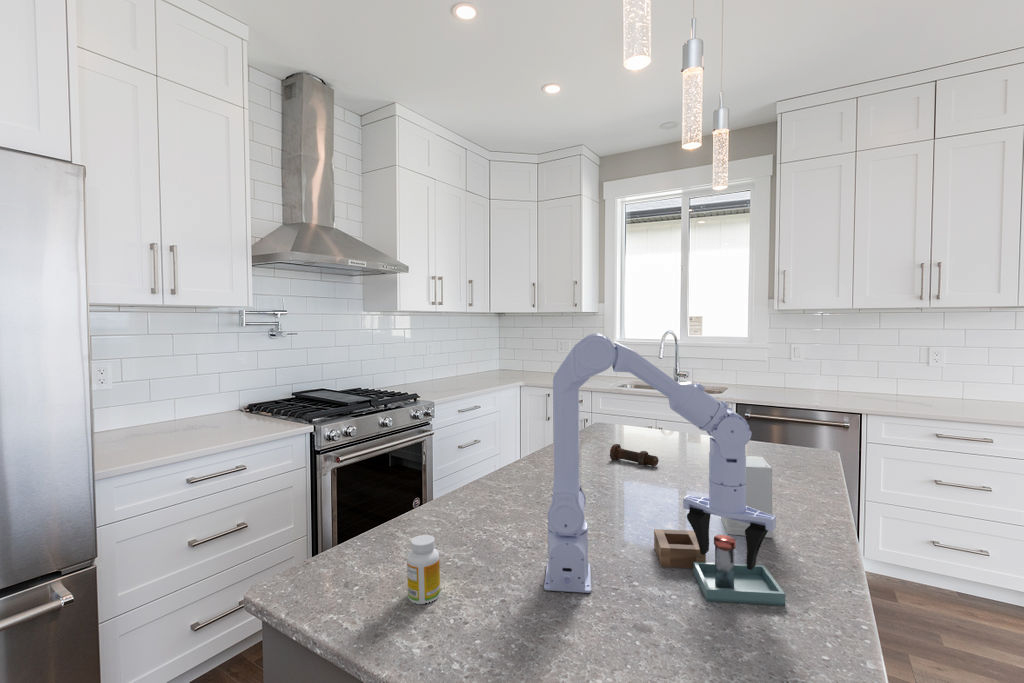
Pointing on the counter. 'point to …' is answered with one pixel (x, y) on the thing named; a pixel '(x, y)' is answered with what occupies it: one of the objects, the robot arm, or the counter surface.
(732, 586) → the red capped cylinder
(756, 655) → the counter surface
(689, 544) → the bore block
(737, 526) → the supplement box
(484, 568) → the counter surface
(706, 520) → the robot arm
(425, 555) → the supplement bottle
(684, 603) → the counter surface
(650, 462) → the bolt
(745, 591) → the tray
